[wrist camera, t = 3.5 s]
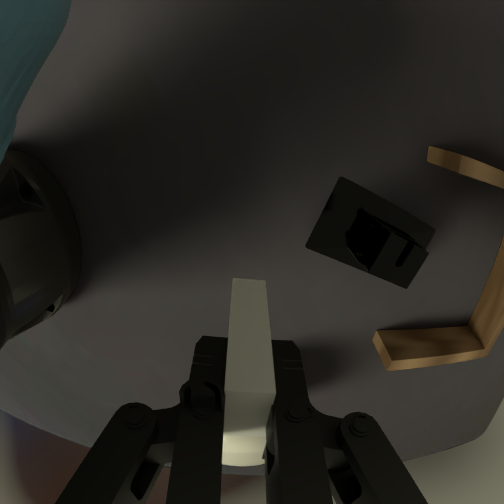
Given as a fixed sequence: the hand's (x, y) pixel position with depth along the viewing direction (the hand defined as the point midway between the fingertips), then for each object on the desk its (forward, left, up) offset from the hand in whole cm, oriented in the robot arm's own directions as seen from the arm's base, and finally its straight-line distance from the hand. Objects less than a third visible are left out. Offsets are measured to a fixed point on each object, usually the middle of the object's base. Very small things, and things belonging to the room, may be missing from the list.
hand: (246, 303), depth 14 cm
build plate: (+9, +1, -8) cm, 12 cm away
